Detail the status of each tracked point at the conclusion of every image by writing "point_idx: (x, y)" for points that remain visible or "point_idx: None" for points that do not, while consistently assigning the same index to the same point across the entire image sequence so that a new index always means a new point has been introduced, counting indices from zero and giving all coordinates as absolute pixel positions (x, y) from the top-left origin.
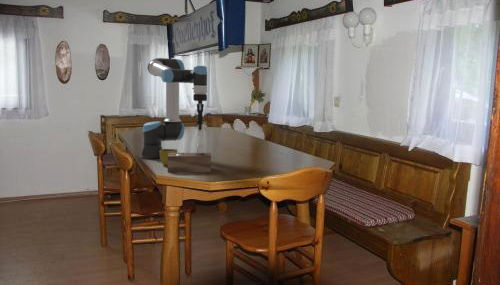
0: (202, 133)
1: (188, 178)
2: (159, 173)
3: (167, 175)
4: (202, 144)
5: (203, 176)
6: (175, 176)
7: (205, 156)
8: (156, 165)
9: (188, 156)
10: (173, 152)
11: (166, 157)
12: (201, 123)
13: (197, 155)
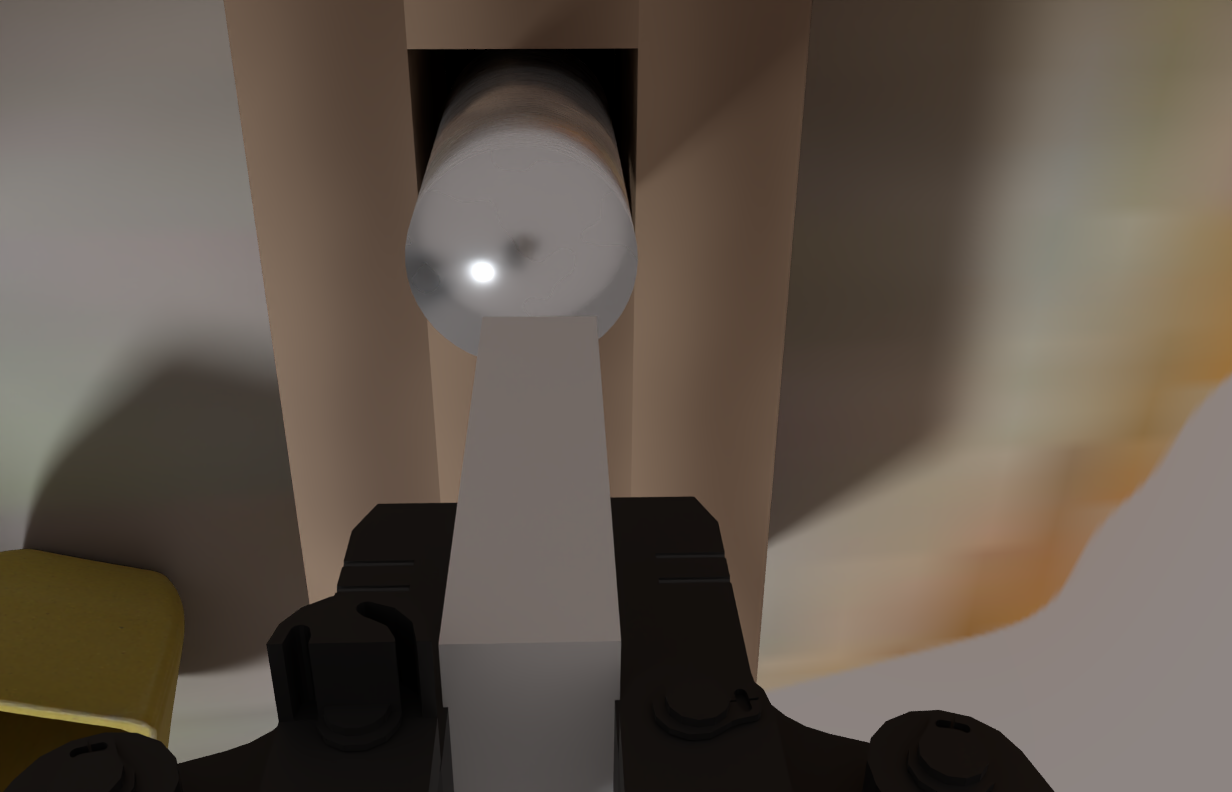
0: (598, 359)
1: (1198, 266)
2: (778, 665)
3: (926, 561)
4: (600, 194)
5: (1112, 11)
6: (1014, 456)
7: (809, 26)
8: (197, 757)
9: (776, 419)
10: (132, 703)
11: (167, 734)
12: (767, 742)
13: (673, 230)
